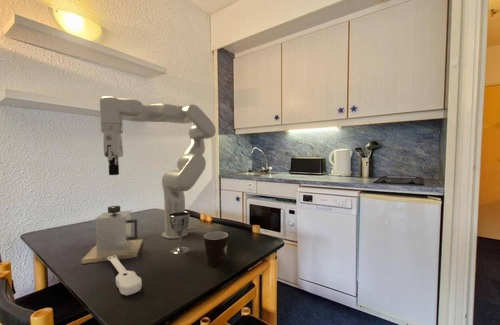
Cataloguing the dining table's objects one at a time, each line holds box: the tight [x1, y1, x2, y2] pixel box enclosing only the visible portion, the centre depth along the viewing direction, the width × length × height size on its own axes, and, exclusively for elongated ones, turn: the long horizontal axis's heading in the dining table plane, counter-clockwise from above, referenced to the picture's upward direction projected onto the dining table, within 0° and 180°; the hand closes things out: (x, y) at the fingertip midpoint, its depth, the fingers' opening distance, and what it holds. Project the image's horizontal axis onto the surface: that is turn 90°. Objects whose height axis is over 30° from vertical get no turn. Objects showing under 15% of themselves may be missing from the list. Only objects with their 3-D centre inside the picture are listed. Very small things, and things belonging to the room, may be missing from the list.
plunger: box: [107, 205, 121, 215], centre depth 94 cm, size 8×8×16 cm
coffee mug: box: [203, 230, 229, 268], centre depth 82 cm, size 12×9×10 cm
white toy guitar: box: [107, 255, 143, 297], centre depth 74 cm, size 28×6×3 cm, turn 42°
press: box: [81, 210, 144, 265], centre depth 94 cm, size 18×16×15 cm
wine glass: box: [169, 211, 191, 255], centre depth 95 cm, size 8×8×15 cm
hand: (114, 174), depth 94 cm, fingers closed
